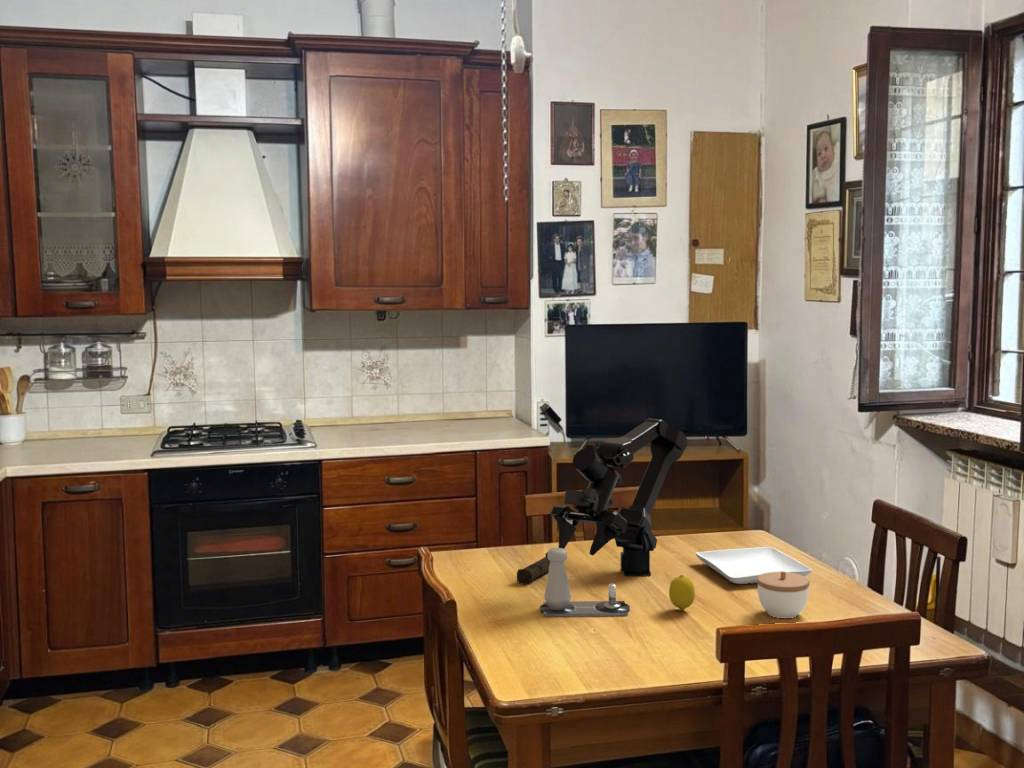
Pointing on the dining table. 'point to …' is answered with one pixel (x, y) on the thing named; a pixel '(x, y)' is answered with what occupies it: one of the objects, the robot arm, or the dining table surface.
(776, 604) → the lidded jar
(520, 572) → the hand tool
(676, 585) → the lemon
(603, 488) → the robot arm
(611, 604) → the fixed steel pin
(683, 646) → the dining table surface
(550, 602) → the salt shaker
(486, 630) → the dining table surface
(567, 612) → the plate
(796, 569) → the salad plate
